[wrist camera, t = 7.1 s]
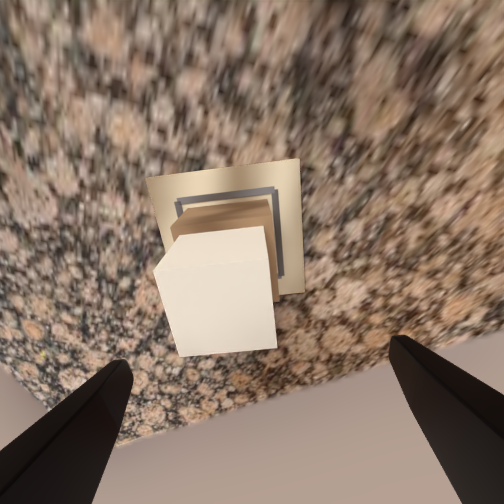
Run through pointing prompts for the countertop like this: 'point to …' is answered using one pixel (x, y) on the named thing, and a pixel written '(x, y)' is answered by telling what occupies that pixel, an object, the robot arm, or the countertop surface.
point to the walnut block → (232, 226)
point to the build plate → (238, 190)
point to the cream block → (218, 292)
